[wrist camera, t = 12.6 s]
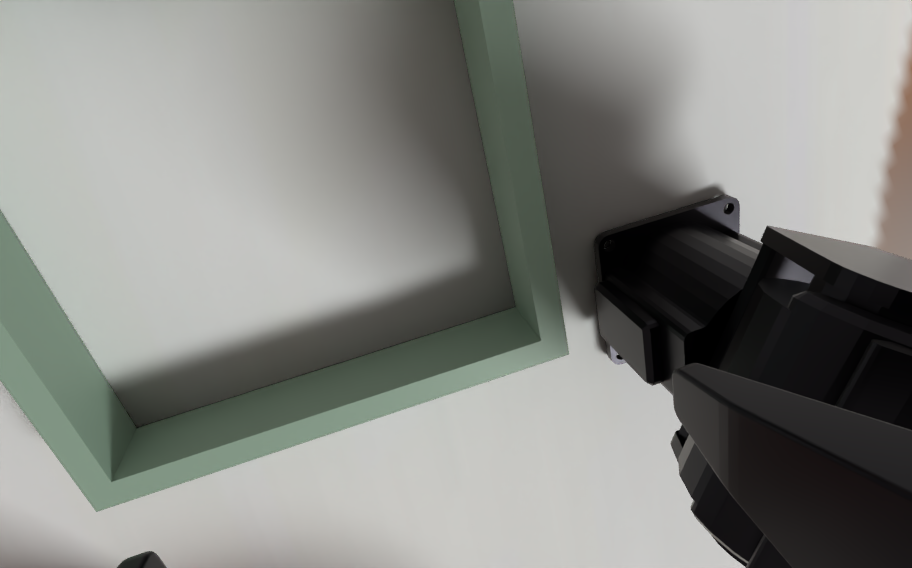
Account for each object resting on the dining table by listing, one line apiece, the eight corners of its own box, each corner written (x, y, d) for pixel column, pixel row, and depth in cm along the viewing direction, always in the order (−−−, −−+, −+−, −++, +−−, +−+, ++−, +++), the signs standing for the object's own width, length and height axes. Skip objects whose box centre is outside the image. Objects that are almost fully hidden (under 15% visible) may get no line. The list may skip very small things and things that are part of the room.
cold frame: (448, -196, 16) (473, -243, 14) (541, 319, 24) (569, 354, 21) (-214, -58, 14) (-337, -81, 12) (123, 454, 22) (96, 511, 19)
